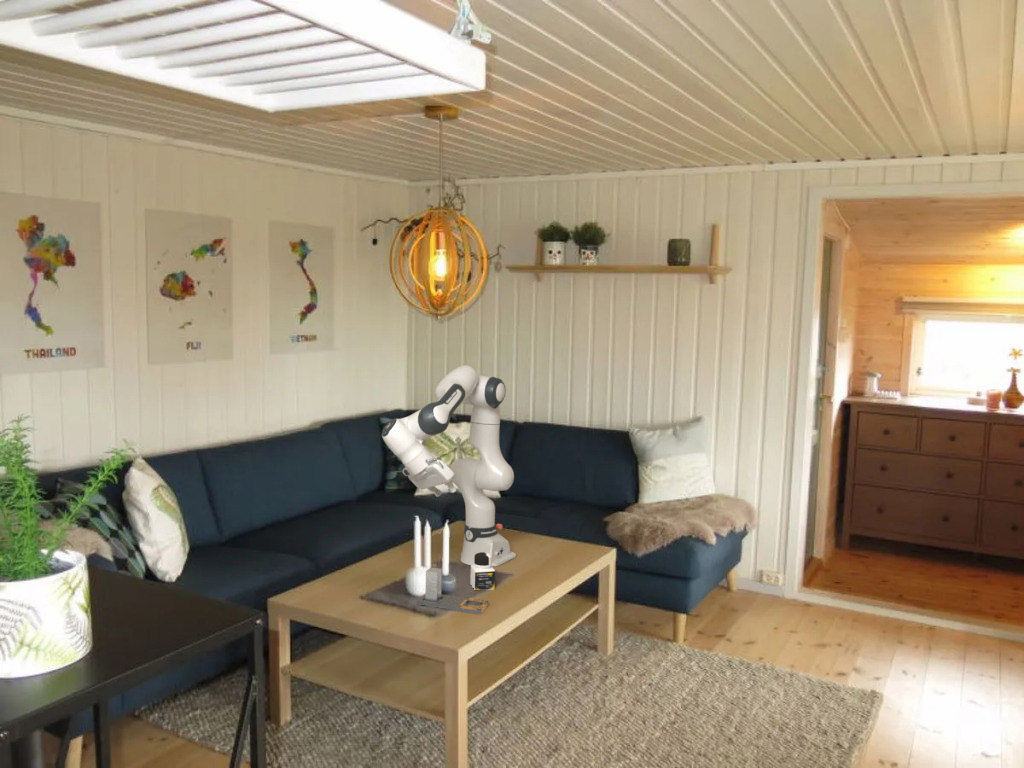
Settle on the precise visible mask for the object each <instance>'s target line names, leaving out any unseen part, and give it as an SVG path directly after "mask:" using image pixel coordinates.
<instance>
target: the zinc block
mask: <svg viewBox="0 0 1024 768" xmlns="http://www.w3.org/2000/svg"><path fill="white" fill-rule="evenodd" d="M442 572H443V569H442V568H437V567H429V568H428V569H427V570H425V594H424V595H425V601H430V602H437V603H438V602H439V601H440V600H441V595H442V578H443V577H442Z"/></svg>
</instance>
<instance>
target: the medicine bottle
mask: <svg viewBox="0 0 1024 768" xmlns="http://www.w3.org/2000/svg"><path fill="white" fill-rule="evenodd" d="M469 579H470V581H469V583H470V586H471V585H472V586H471V587H472V589H473V588H474V589H473V591H474V590H486V591H495V585H496V582H495V581H496V570H495V568H494V566H492V555H491V554H489V553H486V552H480V553H477V554H475V556H474V565H470V578H469Z"/></svg>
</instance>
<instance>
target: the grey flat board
mask: <svg viewBox="0 0 1024 768" xmlns="http://www.w3.org/2000/svg"><path fill="white" fill-rule="evenodd" d="M424 600H425V594H424V595H422V596H421V598H419V599H417V601H416V605H417V604H423V605H427V606H433V607H439V608H438V609H440V608H446V609H450V610H449V611H455V612H461V613H469V614H475V615H481V614H482V613H483V612H484V611H485V610H486V609H487V608H489V605H490V600H486V599H485V600H484V599H478V598H471V597H470V598H468V597H462V596H457V595H456V596H454V595H449V594H441V600H440V601H439V602H438V603H437V602H430V601H424ZM467 605H475V606H479V607H473V606H467ZM433 607H432V608H433ZM446 609H445V610H446Z"/></svg>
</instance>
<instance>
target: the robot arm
mask: <svg viewBox="0 0 1024 768" xmlns="http://www.w3.org/2000/svg"><path fill="white" fill-rule="evenodd" d="M506 389H507V388H506V385H505V383H504V382H503V380H502V379H501V378H499V377H495V376H488V375H481V374H478V373H477V371H476V369H474V368H473V367H472V366H470V365H465V364H463V365H459V366H458V367H456V368H454V369H453V370H451V371H450V372H449V373H446V375H445V376H444V377H443V378H442V379H441V380H440V382H438V383H437V386H436V388H435V390H434V394H435V398H436V401H434V402H430V403H428V404H427V405H425V406H424V407H422V408H421V409H419V410H417V411H415V412H413V413H412V414H410V415H408V416H406V417H401V418H392V419H391V420H390V421H389V422H388V423H386V425H385V426H383V428H382V432H381V437H382V439H383V441H384V443H385V444H386V446H387V447H388V448H389V450H390V451H391V452H392V453H393V454H394V455H395V456H396V457H398V458H399V459H400V460H401V463H402V465H403V466H404V468H403V470H402V474H403V475H404V476H406V477H407V478H408V479H409V481H410V482H411V483H413V485H414V486H415V487H417V488H418V489H419V490H426V489H427V491H430V493H432V494H434V495H435V496H436V498H437V497H440V496H441V495H442V494H443V492H442V490H441V489H439V488H437V487H436V486H440V485H445V487H446V486H447V491H448V492H449V493H450V494H454V493H455V492H456V491H457V488H458V490H459V491H460V494H461V495H462V498H463V502H464V505H465V523H464V527H463V530H464V531H463V534H464V535H463V542H462V552H461V553H460V562H461V563H462V564H465V565H468V566H471V565H474V556H475V554H477V553H480V552H486V553H489V554H491V555H492V567H498V566H501V565H503V564H505V563H507V562H509V561H510V560H512V559H515V558H516V557H517V555H516V553H515V552H514V551H511V547H510V546H511V545H510V542H509V541H508V540H507V538H505V537H504V536H502V535H501V534H500V533H499V532H498V531H499V530H502V529H504V528H503V524H501V523H497V524H496V523H495V522H496V520H495V519H496V516H495V515H496V506H495V505H496V504H495V503H494V501H493V500H492V499H490V498H489V497H488V496H487V495H486V493H485V492H484V490H486V491H492V492H499V491H507V490H508V489H510V488H511V487H512V485H513V483H514V480H515V475H514V474H515V473H514V469H513V468H512V466H511V465H510V464H509V463H508V462H507V461H506V460H505V458H504V456H503V454H502V450H501V447H500V427H501V426H500V424H501V406H500V405H501V404H502V403H503V401H504V400H505V397H506V393H507V392H506ZM462 404H464V405H470V406H472V411H471V415H470V425H469V426H470V427H469V443H470V446H472V448H473V449H475V450H476V451H478V453H479V456H480V459H479V458H477V459H476V458H471V457H464V458H456V459H455V460H454V461H452V463H451V465H450V467H449V466H448V465H447V464H446V463H445V462H444V461H442V460H441V459H436V458H435V457H434V456H433V455H432V454H431V453H430V451H429V450H428V449H427V448H426V446H425V445H424V444H423V442H425V441H427V440H428V439H429V440H430V438H433V437H434V436H436V435H438V434H441V433H444V432H445V431H446V430H447V429H448V427H449V424H450V420H451V417H452V415H453V414H454V412H455V411H456V409H458V407H460V406H461V405H462ZM454 485H455V486H454ZM456 487H457V488H456Z"/></svg>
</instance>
